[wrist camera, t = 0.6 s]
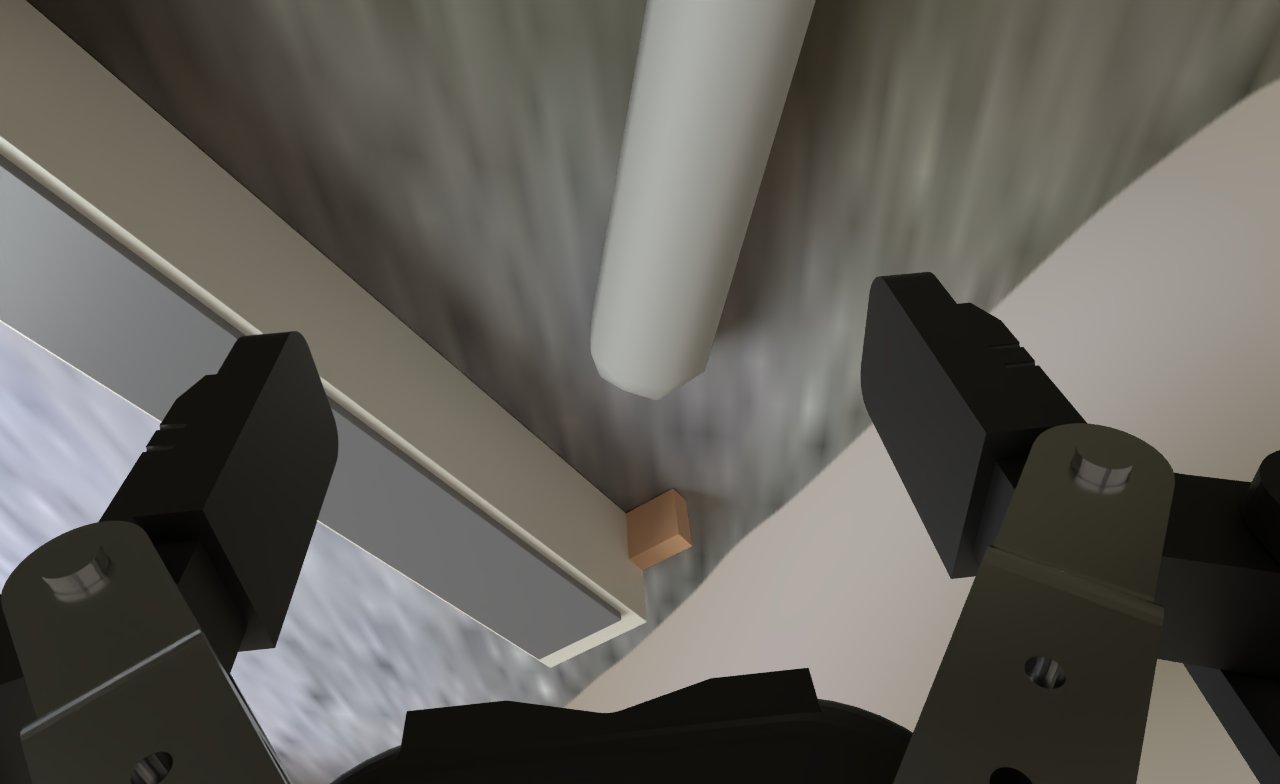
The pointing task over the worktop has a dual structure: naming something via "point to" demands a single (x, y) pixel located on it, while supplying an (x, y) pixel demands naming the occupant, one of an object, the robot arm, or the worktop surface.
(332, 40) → the worktop surface
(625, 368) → the tube
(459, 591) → the long cream box
